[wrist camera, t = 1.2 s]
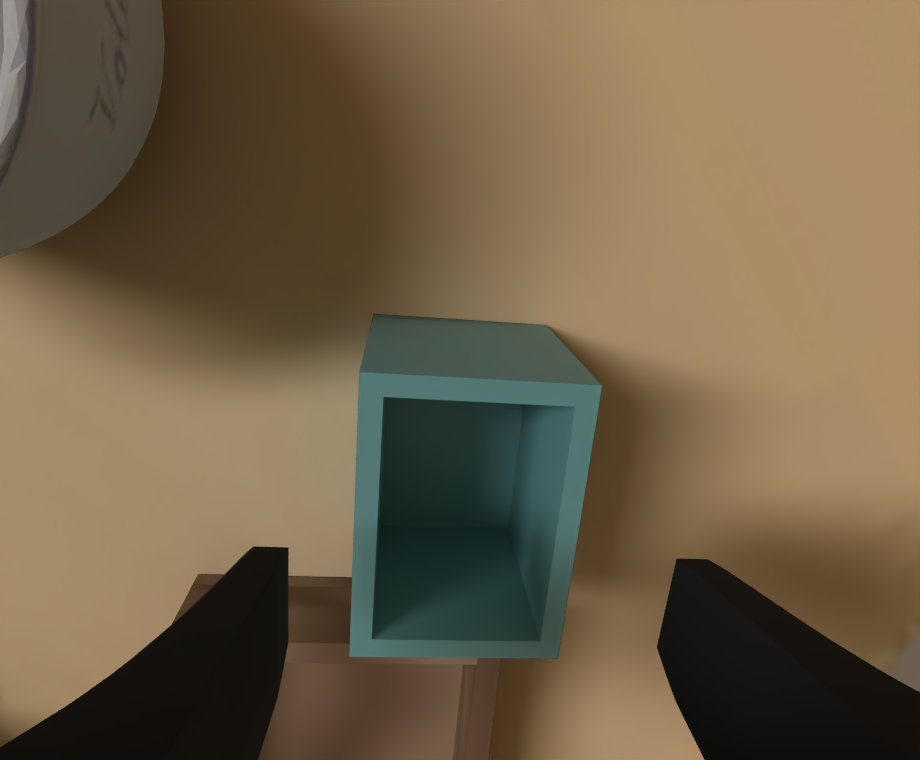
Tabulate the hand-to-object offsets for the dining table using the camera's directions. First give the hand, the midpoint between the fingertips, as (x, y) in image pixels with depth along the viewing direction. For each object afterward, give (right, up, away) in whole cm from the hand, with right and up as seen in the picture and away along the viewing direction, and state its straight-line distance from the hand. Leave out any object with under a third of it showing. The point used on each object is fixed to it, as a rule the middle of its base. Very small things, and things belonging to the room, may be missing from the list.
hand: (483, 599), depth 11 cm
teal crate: (-1, +2, +7) cm, 8 cm away
